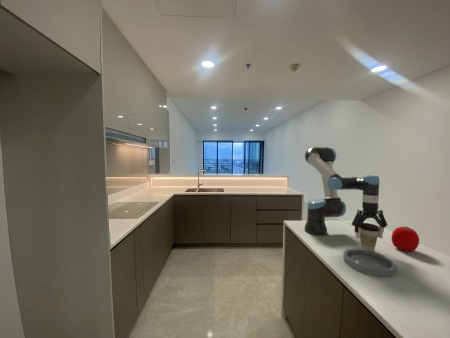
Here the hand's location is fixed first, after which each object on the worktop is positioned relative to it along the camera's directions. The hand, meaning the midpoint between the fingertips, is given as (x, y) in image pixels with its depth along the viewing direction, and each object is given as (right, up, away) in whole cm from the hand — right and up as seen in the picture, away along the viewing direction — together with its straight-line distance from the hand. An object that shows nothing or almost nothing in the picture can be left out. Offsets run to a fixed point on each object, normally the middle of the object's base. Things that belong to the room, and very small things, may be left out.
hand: (368, 237), depth 116 cm
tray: (-11, -8, -15) cm, 20 cm away
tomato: (+23, -8, +2) cm, 24 cm away
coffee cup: (0, -8, +1) cm, 8 cm away
